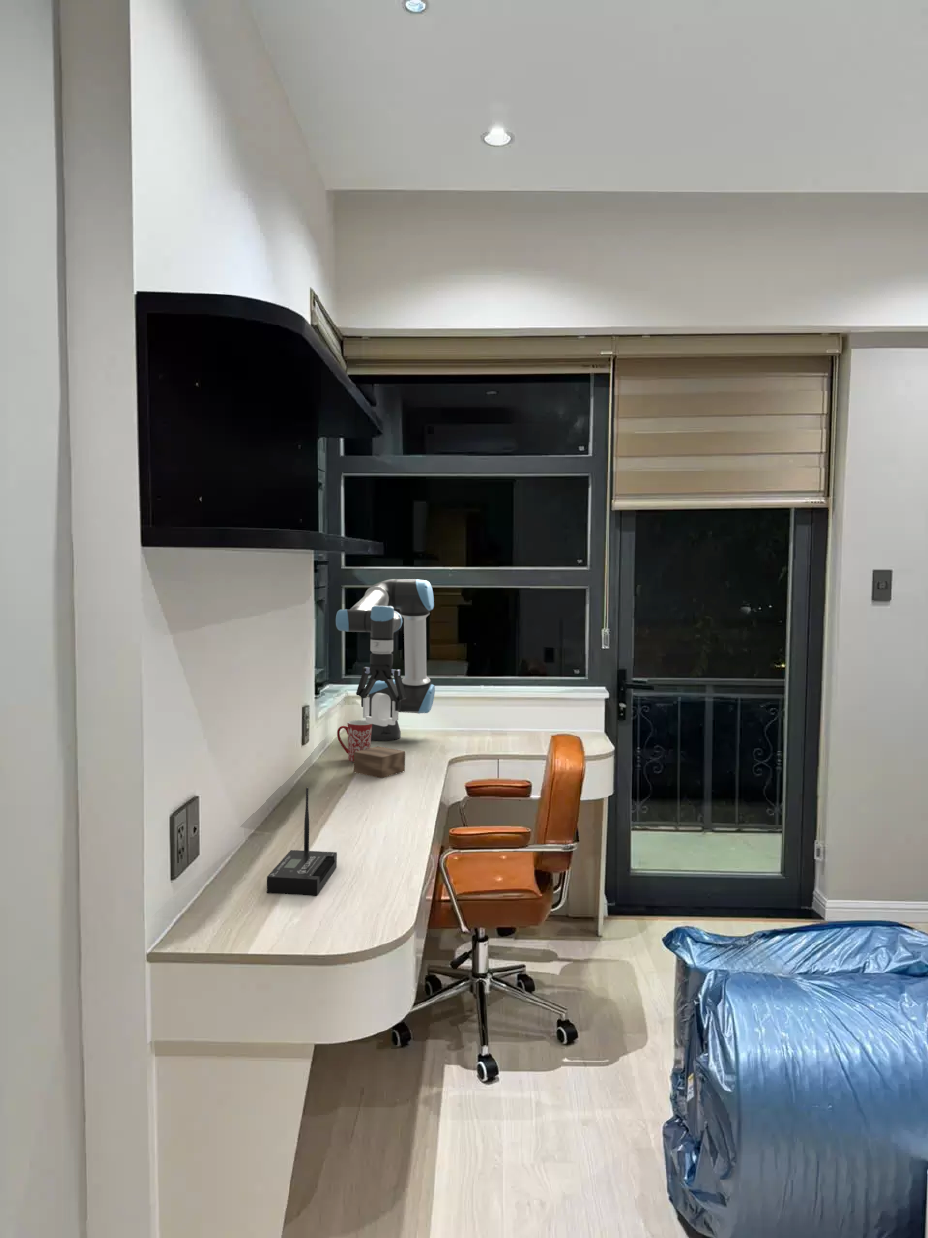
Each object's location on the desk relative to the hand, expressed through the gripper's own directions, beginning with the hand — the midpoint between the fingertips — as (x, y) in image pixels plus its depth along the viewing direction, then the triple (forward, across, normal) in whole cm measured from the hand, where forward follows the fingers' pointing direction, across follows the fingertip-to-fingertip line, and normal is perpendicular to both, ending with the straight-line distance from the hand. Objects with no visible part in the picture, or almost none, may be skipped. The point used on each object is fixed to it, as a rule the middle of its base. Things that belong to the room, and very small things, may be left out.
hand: (380, 718), depth 262 cm
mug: (+18, -17, +10) cm, 27 cm away
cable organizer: (+2, 0, 0) cm, 2 cm away
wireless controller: (+18, +36, -86) cm, 95 cm away
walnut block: (+18, 0, 0) cm, 18 cm away
